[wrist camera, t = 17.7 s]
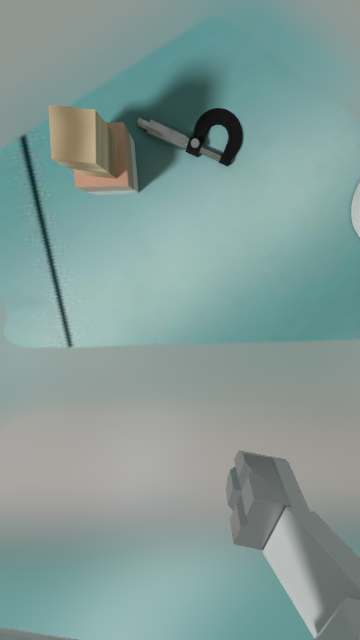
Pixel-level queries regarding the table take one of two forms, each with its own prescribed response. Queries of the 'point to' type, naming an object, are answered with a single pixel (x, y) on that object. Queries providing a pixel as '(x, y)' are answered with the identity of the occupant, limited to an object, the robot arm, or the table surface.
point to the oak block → (82, 141)
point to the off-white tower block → (133, 176)
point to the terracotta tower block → (123, 166)
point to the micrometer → (199, 134)
